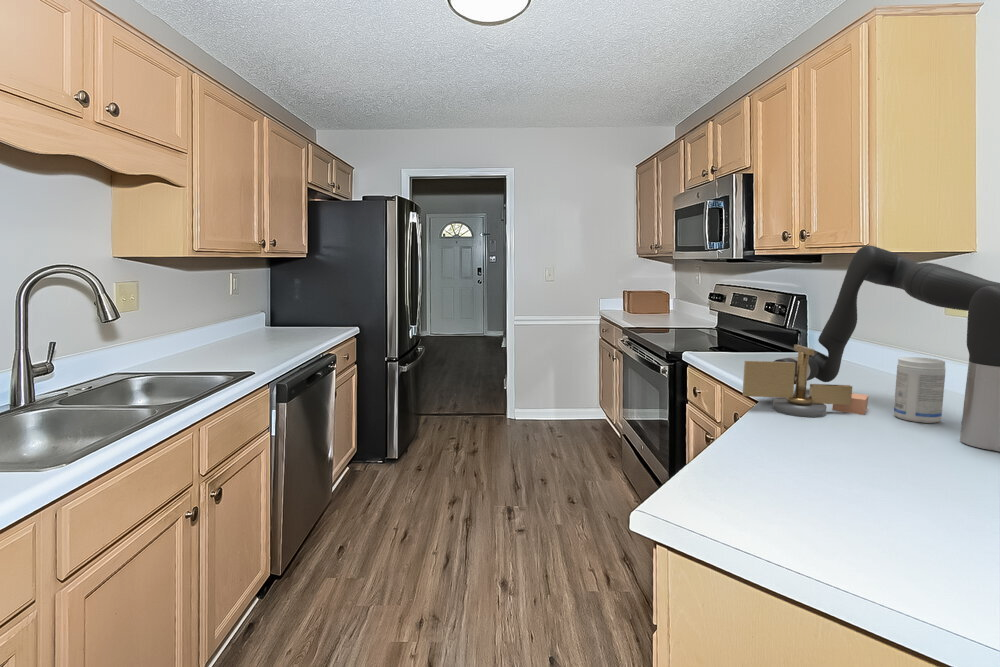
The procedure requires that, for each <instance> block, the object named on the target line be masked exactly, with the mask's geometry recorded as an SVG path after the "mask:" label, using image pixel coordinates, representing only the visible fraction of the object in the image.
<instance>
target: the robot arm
mask: <svg viewBox="0 0 1000 667" xmlns="http://www.w3.org/2000/svg"><path fill="white" fill-rule="evenodd" d="M864 282H869V283H873V284H875V285H880V286H884V287H891V288H896V289H900V290H903V291H905V293H906V294H907V295H908V296H910V297H912V298H913V299H915V300H918V301H920V302H923V303H926V304H928V305H931V306H936V307H939V308H945V309H952V310H958V311H964V312H965V311H967V325H966V326H967V327H966V328H967V330H966V348H967V352H968V355H969V356H968V364H967V374H966V381H965V390H964V399H963V408H962V417H961V427H960V435H959V441H960V442H961V443H963V444H965V445H968V446H970V447H974V448H977V449H984V450H988V451H989V450H990V451H994V452H999V453H1000V282H996V281H992V280H989V279H985V278H983V277H980V276H977V275H974V274H971V273H967V272H965V271H961V270H958V269H956V268H952V267H950V266H946V265H941V264H938V263H932V262H920V263H919V262H915V261H913V260H910V259H907V258H906V257H903V256H901V255H900V254H897V253H895V252H893V251H890V250H888V249H884V248H881V247H878V246H875V245H870V244H868V245H864V246H862V247H860V248H859V249H858V250H857V251H856V252H855V253H854V255H853V256H852V258H851V260H850V263H849V265H848V267H847V269H846V273H845V276H844V278H843V281H842V284H841V287H840V290H839V293H838V296H837V299H836V302H835V305H834V306H833V310H832V311H831V314H830V316H829V317H828V320H827V322H826V324H825V325H824V327H823V329H822V331H821V333H820V334H819V336H818V340H817V341H818V343H819V344H820V345H821V346H822V347H823V348H825V350H827V353H828V354H827V355H826V354H824V353H822V352H820V351H818V350H815V349H814V355H809V359H808V372H807V382H808V381H810V380H811V381H812V379H815V378H816V379H817V380H818V381H820V382H823V383H830V382H831V381H834V380H835V378H836V377H837V376H838V375H839V372H840V369H841V364H842V358H843V354H844V352H845V348H846V346H847V344H848V342H849V341H850V338H851V337H852V335H853V333H854V332H855V330H856V326H857V324H858V295H859V291H860V289H861V286H862V285H863V283H864ZM772 362H794V363H796V364H795V377H794V385H796V375H797V362H798V356H795V357H794V356H789V357H785V358H778V359H775V360H773V361H772Z"/></svg>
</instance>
